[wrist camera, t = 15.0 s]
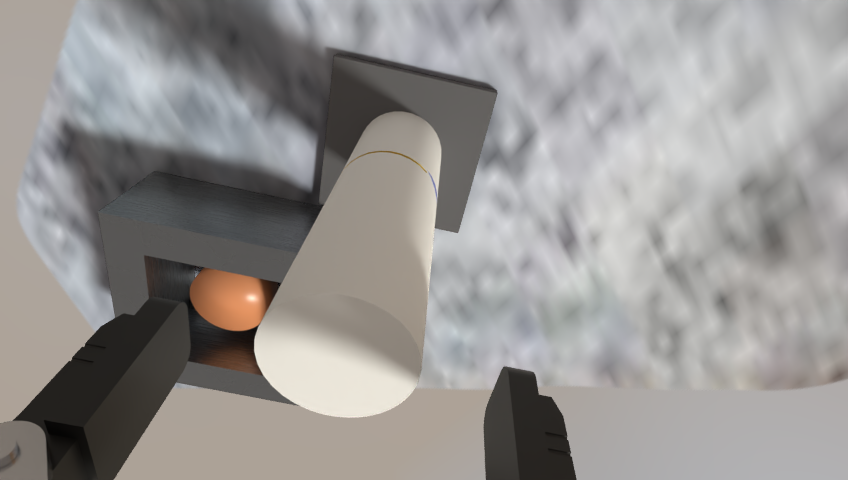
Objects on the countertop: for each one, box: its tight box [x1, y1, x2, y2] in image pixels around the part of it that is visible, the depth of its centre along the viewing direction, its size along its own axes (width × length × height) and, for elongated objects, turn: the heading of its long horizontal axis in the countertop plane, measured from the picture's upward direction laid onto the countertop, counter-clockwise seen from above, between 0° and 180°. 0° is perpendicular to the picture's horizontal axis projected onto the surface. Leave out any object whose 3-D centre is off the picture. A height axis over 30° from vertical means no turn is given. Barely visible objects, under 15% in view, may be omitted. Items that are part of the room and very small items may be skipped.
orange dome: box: [190, 267, 278, 331], centre depth 28 cm, size 4×4×2 cm
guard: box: [98, 171, 323, 406], centre depth 28 cm, size 11×11×5 cm
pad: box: [319, 54, 497, 233], centre depth 25 cm, size 8×8×1 cm
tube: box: [254, 111, 441, 418], centre depth 19 cm, size 4×4×15 cm
